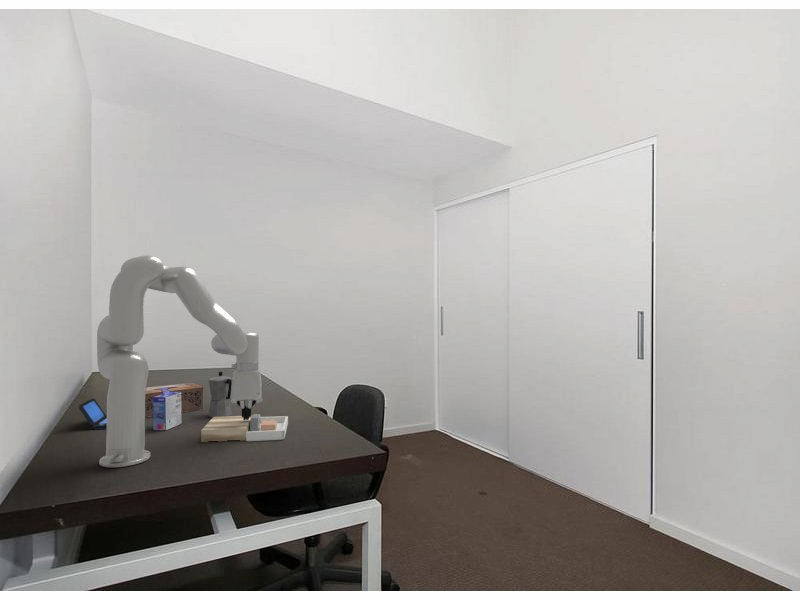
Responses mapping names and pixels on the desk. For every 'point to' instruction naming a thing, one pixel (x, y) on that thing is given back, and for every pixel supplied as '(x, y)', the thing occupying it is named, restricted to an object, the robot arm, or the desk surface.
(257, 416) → the slate tile
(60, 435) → the desk surface
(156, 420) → the ink cartridge box
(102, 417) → the handheld game console
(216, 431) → the plate
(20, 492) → the desk surface
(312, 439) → the desk surface
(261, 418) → the box
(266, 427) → the salmon pink block
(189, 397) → the tissue box cover
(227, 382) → the coffeepot
